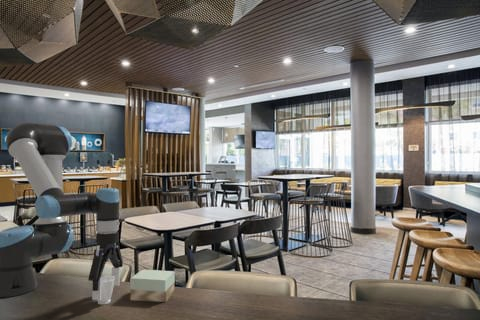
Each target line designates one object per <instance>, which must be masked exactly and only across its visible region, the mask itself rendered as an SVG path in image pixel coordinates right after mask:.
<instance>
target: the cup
mask: <svg viewBox="0 0 480 320" xmlns="http://www.w3.org/2000/svg"><path fill="white" fill-rule="evenodd" d="M100 280H102V282H101V300H97V304H98V305H100V306H101V305H107V304H110V303H111V299H112V296H113V291H114V287H115V286H114V280H115V277H114V276H112V275H101V278H100Z"/></svg>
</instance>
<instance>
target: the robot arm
mask: <svg viewBox="0 0 480 320" xmlns="http://www.w3.org/2000/svg"><path fill="white" fill-rule="evenodd" d="M72 146H73V139H72V135H71V132H70V131H69V130H68V129H67V128H66V127H63V126H58V125H55V124H44V123H43V124H42V123H36V122H35V123H34V122H21V123H19V124H16V125H15V126H13V127H12V128H11V129H10V130H9V131H8V132H7V134H6V137H5V147H6V149H7V152H8V154H9V155H10V156H11V157H13V158H15V159H16V161H17V163H18V165H19V167H20V168H21V170H22V172H23V174H24V175H25V178H26V179H27V181H28V183H29V185H30V186H31V188H32V190H33V191H34V194H35V195H36V197H37V198H36V201H35V203H34V209H35V213H36V215H37V217H39V218H38V220H37V221H35V224H34V225H35V227H34V226H33V225H27V224H26V225H19V226H18V225H17V226H13V227H9V228H6V229H3V230H1V231H0V298H10V297H16V296H21V295H23V294H24V295H25V294H27V293H30V292H32V291H35V289H36V288H37V287H38V280H37V278H36V274H35V271H34V268H33V259H37V258H42V257H45V256H51V255H58V254H60V253H64V252H66V251H68V250H69V249H70V247H71V246H72V244H73V242H74V235H75V234H74V229H73V226H72V225H71V224H69V223H68V220H67V218H65V217H69V216H78V215H79V216H80V215H86V214H94V215H96V219H95V220H96V222H95V223H96V226H95V231H96V233H95V243H96V244H97V245H99V249H94V251H93V259H92V263H91V267H90V270H89V274H88V281H90V282H92V290H91V291H92V294H91V295H92V296H91V297H92V298H91V300H92V301H98V300H101V282H102V280H100V278H101V276H103V275H102V274H103V272H104V269H105V266H106V263H107V262H108V261H109V260H110V263H111V265H112V267H111V276H114V277H115V280H114V286H113V287H119V286H120V285H121V284H120V279H121V275H120V274H121V271H120V269H121V268H123V266H124V265H123V263H124V261H123V257H122V253H121V248H120V239H119V238H120V237H119V236H120V234H119V229H120V227H119V226H120V221H119V220H120V201H121V199H120V191H119V189H118V188H111V187H108V188H107V187H106V188H105V187H103V188H102V187H101V188H98V189H97V191H96V192H95V193H94V192H80V193H68V194H66V193H64V191H63V190H64V189H63V183H64V182H63V181H64V180H63V179H64V178H63V161H64V159H65V158H67V154H68V153H70V152H71V150H72Z"/></svg>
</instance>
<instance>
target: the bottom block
mask: <svg viewBox="0 0 480 320" xmlns="http://www.w3.org/2000/svg"><path fill="white" fill-rule="evenodd" d="M174 292H175V282H174V283H173V284H172V285H171V286H170V287H169V288H168V289H167V290H166V291H165V292H162V291H147V290H132V289H130V301H138V302H139V301H140V302H141V301H142V302H143V301H145V302H161V303H162V302H165V303H167V302H168V300H169V299H170V297H171V296H172V294H173V293H174Z"/></svg>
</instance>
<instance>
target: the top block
mask: <svg viewBox="0 0 480 320" xmlns="http://www.w3.org/2000/svg"><path fill="white" fill-rule="evenodd" d="M175 277H176V271H175V270H158V269H141V270H140V271H138V272H137V273H136V274H134V275H133V276H132V277H130V290H131V289H132V290H147V291H162V292H165V291H166V290H167V289H168V288H169V287H170V286H171V285H172V284H173V283H174V284H175V281H176V278H175Z"/></svg>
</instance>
